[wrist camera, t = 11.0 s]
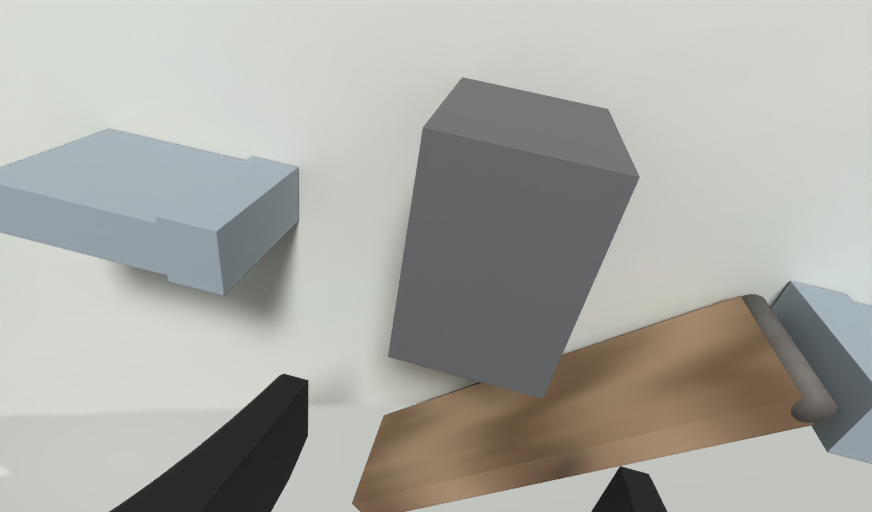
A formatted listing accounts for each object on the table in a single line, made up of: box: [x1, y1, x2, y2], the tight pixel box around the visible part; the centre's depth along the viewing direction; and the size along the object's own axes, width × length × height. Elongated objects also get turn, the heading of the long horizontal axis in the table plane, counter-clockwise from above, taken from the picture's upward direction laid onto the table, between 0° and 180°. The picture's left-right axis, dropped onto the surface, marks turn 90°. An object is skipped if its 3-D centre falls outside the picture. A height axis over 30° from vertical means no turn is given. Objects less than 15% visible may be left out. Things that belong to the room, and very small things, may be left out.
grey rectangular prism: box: [388, 77, 639, 399], centre depth 12 cm, size 4×6×5 cm, turn 170°
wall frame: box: [0, 129, 872, 464], centre depth 13 cm, size 30×2×4 cm, turn 80°
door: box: [352, 294, 837, 512], centre depth 15 cm, size 15×1×4 cm, turn 124°
